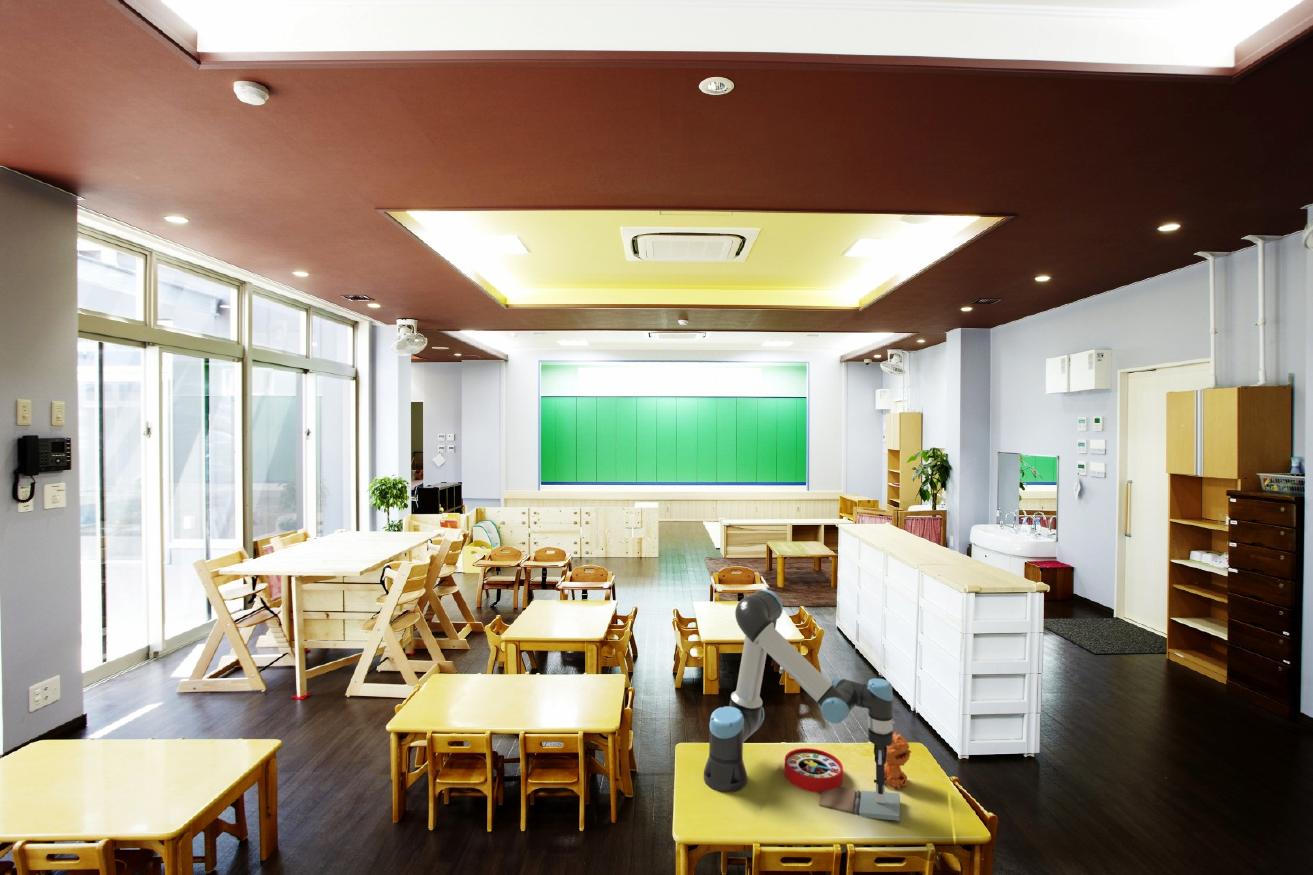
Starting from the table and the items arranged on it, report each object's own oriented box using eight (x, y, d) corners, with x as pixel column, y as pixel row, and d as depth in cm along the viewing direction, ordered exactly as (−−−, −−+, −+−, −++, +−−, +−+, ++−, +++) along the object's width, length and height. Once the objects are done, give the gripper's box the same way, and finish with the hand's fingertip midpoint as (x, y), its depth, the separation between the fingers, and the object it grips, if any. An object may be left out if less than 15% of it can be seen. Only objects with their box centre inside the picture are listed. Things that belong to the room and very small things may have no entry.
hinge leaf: (854, 816, 199) (853, 811, 199) (856, 794, 211) (856, 789, 211) (899, 820, 194) (899, 815, 194) (899, 797, 206) (899, 793, 206)
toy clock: (789, 743, 233) (844, 754, 226) (788, 759, 233) (844, 770, 227) (780, 771, 215) (841, 784, 208) (780, 787, 215) (840, 801, 208)
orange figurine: (913, 795, 211) (915, 743, 211) (879, 791, 213) (881, 739, 213) (907, 777, 222) (908, 727, 222) (874, 773, 224) (876, 724, 224)
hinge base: (819, 808, 203) (819, 803, 203) (823, 786, 215) (823, 782, 215) (858, 817, 199) (858, 812, 199) (860, 795, 211) (860, 790, 211)
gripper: (892, 740, 195) (892, 815, 195) (892, 722, 207) (893, 793, 207) (867, 736, 197) (867, 810, 197) (869, 718, 209) (869, 788, 210)
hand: (880, 801), depth 202 cm, fingers closed
